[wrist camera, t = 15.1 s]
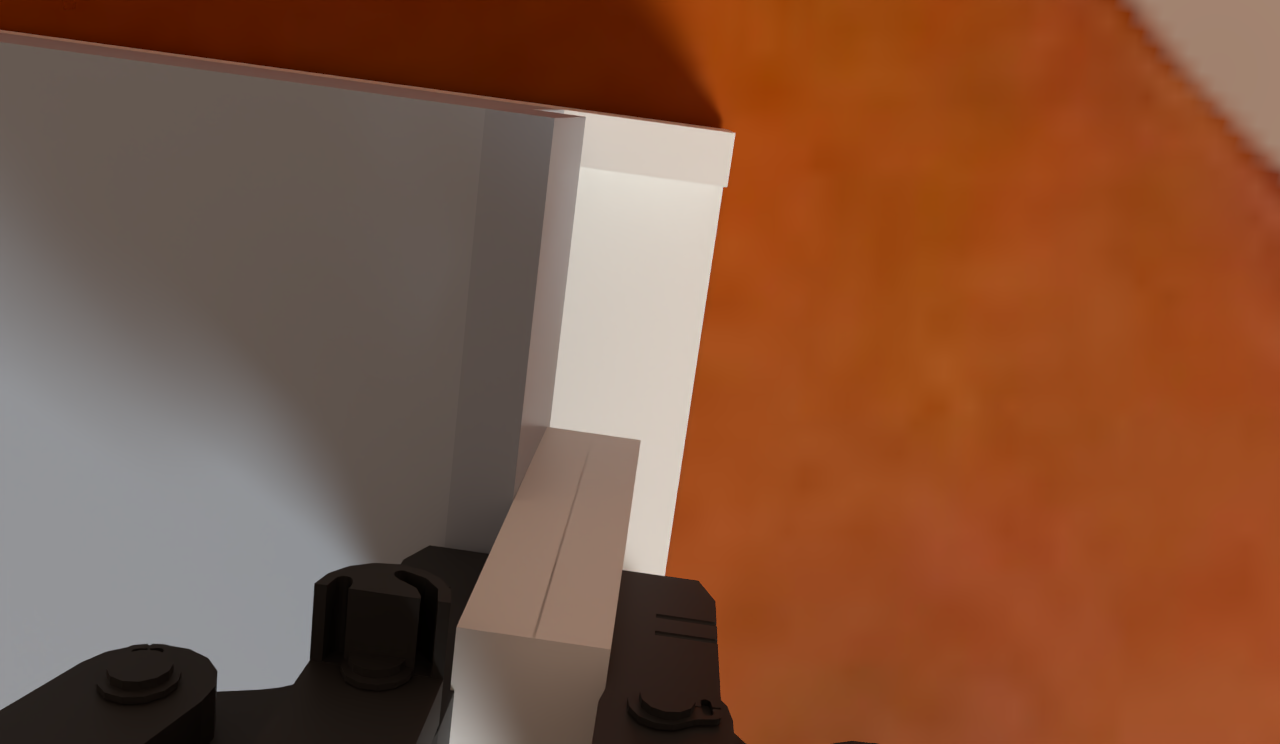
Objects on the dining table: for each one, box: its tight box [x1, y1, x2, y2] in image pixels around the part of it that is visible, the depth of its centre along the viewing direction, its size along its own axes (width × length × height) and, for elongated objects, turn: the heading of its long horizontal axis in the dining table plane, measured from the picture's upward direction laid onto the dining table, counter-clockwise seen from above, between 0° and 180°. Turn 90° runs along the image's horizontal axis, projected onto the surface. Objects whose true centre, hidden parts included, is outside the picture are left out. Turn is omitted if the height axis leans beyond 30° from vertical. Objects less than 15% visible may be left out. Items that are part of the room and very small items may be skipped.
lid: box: [0, 33, 586, 710], centre depth 17 cm, size 15×12×8 cm
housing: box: [0, 30, 735, 576], centre depth 23 cm, size 25×12×4 cm, turn 82°
